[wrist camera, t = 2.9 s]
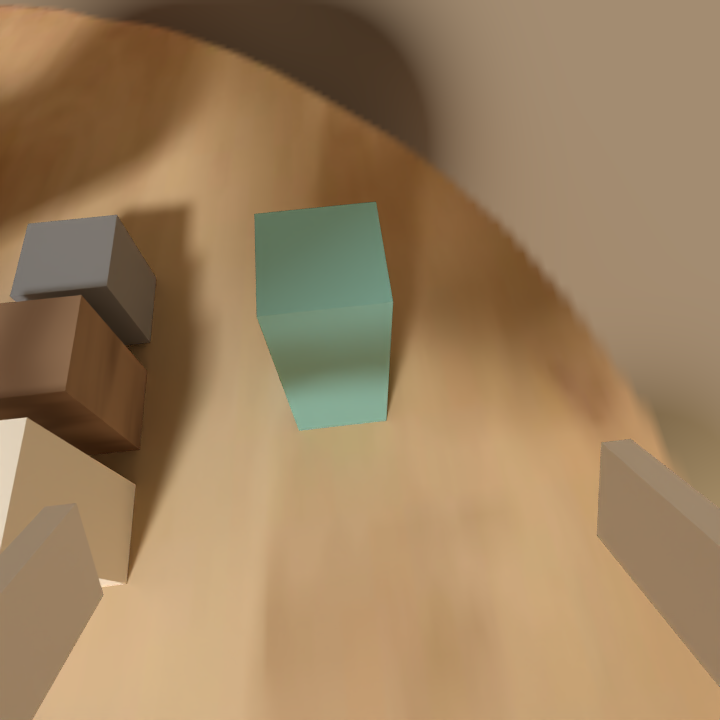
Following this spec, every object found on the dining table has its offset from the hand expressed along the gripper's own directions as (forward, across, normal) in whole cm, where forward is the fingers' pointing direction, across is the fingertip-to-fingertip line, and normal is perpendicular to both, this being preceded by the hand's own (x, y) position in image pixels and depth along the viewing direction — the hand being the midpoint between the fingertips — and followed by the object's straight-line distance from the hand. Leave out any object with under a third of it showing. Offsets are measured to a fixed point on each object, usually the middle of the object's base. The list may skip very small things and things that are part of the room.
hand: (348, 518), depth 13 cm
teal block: (+18, 0, -3) cm, 18 cm away
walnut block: (+18, -14, -3) cm, 23 cm away
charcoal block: (+22, -14, +2) cm, 27 cm away
